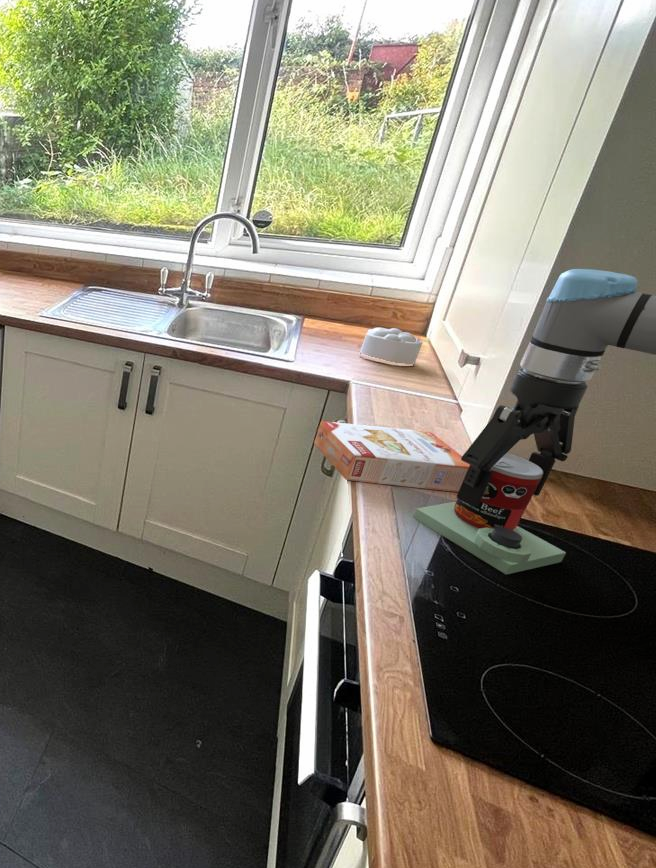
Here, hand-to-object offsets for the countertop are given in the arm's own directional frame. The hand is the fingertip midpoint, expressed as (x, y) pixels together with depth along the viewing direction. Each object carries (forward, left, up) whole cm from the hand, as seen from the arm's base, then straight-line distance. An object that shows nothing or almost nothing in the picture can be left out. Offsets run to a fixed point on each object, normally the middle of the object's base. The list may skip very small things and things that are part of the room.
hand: (497, 496), depth 93 cm
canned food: (0, 0, -5) cm, 5 cm away
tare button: (-6, +6, -4) cm, 9 cm away
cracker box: (+15, -12, -4) cm, 19 cm away
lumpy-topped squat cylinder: (+65, -61, -7) cm, 90 cm away
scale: (-2, +2, -7) cm, 7 cm away
